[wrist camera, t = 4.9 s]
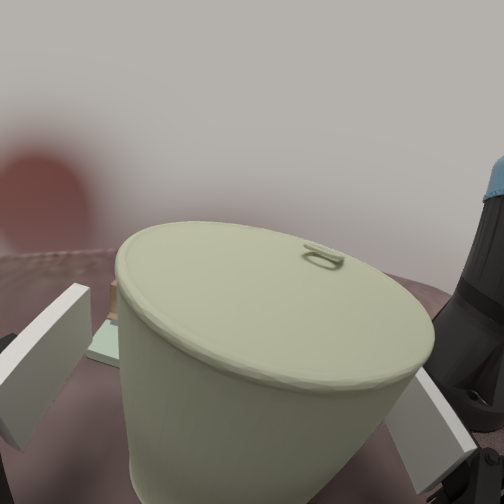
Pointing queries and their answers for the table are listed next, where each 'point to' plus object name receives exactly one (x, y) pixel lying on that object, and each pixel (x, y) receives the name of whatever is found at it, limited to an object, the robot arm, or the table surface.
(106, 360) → the tailgate
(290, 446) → the can
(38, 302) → the table surface
